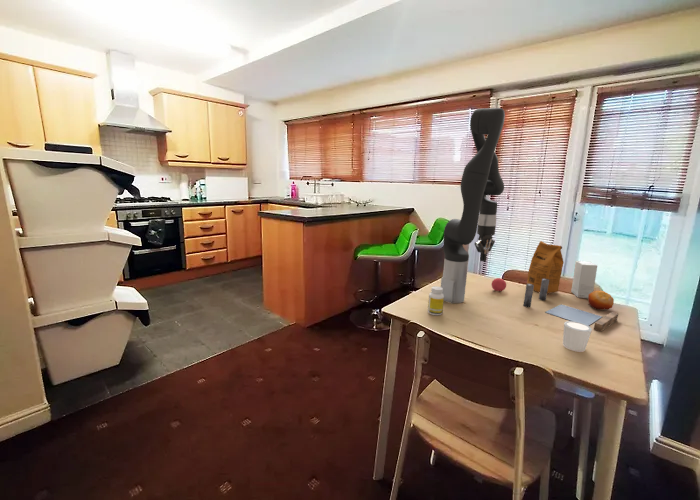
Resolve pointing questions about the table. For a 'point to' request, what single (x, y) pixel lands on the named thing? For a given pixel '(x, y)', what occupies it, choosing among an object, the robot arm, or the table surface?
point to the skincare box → (584, 278)
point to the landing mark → (574, 314)
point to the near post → (528, 295)
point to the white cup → (576, 336)
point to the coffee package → (546, 267)
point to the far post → (543, 289)
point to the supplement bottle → (436, 301)
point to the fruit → (600, 300)
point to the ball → (498, 284)
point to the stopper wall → (605, 321)
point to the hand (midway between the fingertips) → (483, 260)
